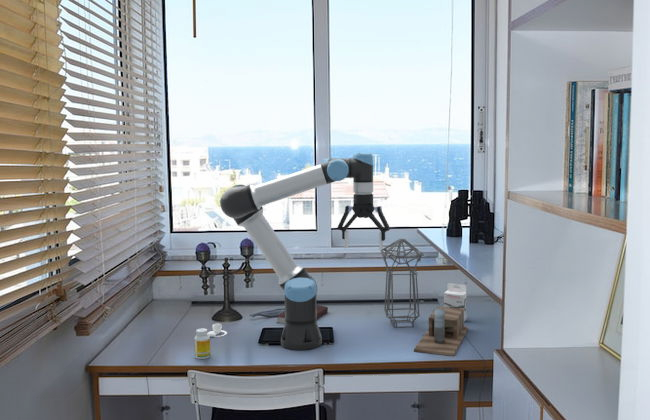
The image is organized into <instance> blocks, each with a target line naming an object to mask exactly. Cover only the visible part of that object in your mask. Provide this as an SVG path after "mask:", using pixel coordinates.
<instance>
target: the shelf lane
mask: <svg viewBox="0 0 650 420" xmlns="http://www.w3.org/2000/svg"><path fill="white" fill-rule="evenodd" d="M438 308H440V309H444V310H445V322H454V329H453V332H447V331H446V332H445V340H444V343H443V344H437V343H435V342H434V310H433V311H432V313H431V314H430V315H429V317H428V329H427V330H426V332H425V333H424V335H422V337H421V338H420V339H419V341H418V343H417V344H416V345H415V346H414V348H413V352H416V353H423V354H433V355H442V356H450V357H455V356H456V353H457V351H458V350H459V348H460V345H461V344H462V341H463V340H464V338H465V336H466V334H467V333H468V331H469V326H465V324H464V322H465V321H464V309H459V308H447V307H444V306H436V308H435V309H438Z"/></svg>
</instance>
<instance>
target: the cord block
mask: <svg viewBox="0 0 650 420" xmlns="http://www.w3.org/2000/svg"><path fill="white" fill-rule="evenodd" d="M433 311H434V342H435V343H437V344H443V343H444V340H445V332H446V331H447V332H453V329H454V322H445V310H444V309H440V308H438V309H436V308H435V309H434V310H433Z"/></svg>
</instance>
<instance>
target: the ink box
mask: <svg viewBox="0 0 650 420" xmlns="http://www.w3.org/2000/svg"><path fill="white" fill-rule="evenodd" d="M467 295H468V294H467V285H466V284H459V283H451V282H450V283H449V282H448V283H447V290H446V291H444V293H443V307H447V308H459V309H464V322H465V321H467V307H468V306H467V305H468V304H467V300H468V299H467V298H468V296H467Z"/></svg>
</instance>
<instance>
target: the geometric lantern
mask: <svg viewBox="0 0 650 420" xmlns="http://www.w3.org/2000/svg"><path fill="white" fill-rule="evenodd" d="M404 244H405V245H406V246H407V247H408V248H407V249H405V245H404ZM401 246H402V247H401ZM401 248H402V251H401ZM406 251H408V252H407V253H406ZM393 252H395V253H396V254H393ZM411 252H414V253H416V254H415V255H413V254H412V255H409V254H410V253H411ZM380 253H381V256H382V259H383V261H384V264H385V268H386V278H385V293H384V295H385V296H384V314H385V317H386V318H387V319H389V320H390V321H389V322H390V324H391V325H392V327H393V328H399V329H400V328H402V326H398V323H411V325H409V326H403V328H414V327H415V321H416V320H417V319H418V318H419V317H420V306H419V305H420V304H419V290H418V289H419V288H418V286H419V285H418V272H417V271H416V270H417V267H418V266H417V265H418V263H420V261H421V258H422V257H423V256H425V254H424V253H423V252H421V251H420V250H419V248H416V247H415V246H414V245H412V244H411V243H410V242H409V241H408V240H406V238H398V239H397V240H395V241H394V242H392V243H390V244H388V245H386V246H385V247H383V249H381V250H380ZM401 253H403V255H401ZM387 258H389V259H390V260H392V261H393V263H392V265H391V267H390V268H389V266H388V263H387ZM408 258H411V259H409V260H408ZM397 259H398V261H397ZM401 259H403V261H404V262H401ZM415 259H416V262H415V265H414V267H413V268H411V266H410V264H409V263H411V262H412V261H414V260H415ZM395 264H396V266H395V267H394V265H395ZM399 265H406V266H407V267H408V268H405V267H403V268H400V270H409V273H393V272H394V271H395V270H396V269H397V268H398V266H399ZM393 276H409V307H405V308H404V307H403V308H401V307H400V308H399V307H398V308H395V307H394V290H393V289H394V288H393V287H394V284H393V283H394V280H393V279H394V278H393ZM412 297H413V298H412ZM412 301H413V308H412ZM390 303H391V305H390ZM400 310H403V311H404V310H409V311H408V312H407V313H408V314H407V315H394V311H400ZM411 310H412V311H413V312H412V313H411V314H410V312H411ZM416 314H417V315H416Z"/></svg>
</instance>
